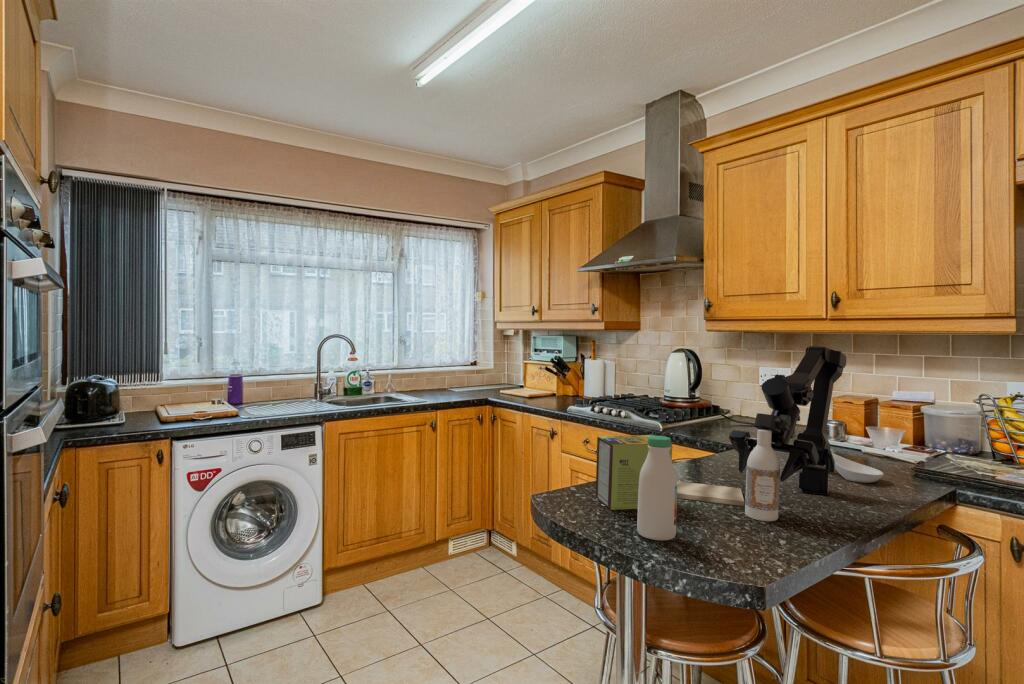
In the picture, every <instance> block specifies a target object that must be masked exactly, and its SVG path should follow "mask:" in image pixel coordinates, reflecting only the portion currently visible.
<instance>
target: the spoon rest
mask: <svg viewBox="0 0 1024 684" xmlns="http://www.w3.org/2000/svg"><path fill="white" fill-rule="evenodd" d="M832 455H833V458H834V461H835V471H836V472H837V473H839V475H841V476H842V477H843V478H844V480H847V481H850V482H854V483H857V484H858V483H859V484H869V483H875V482H877V481H879V480H880V479H882V478H883V477H884V475H885V474H884V472H883V471H882V470H879V469H878V468H874V467H871V466H868V465H865V464H862V463H858V462H856V461H853V460H851V459H848V458H845V457H843V456H840V455H838V454H836V453H833V452H832Z"/></svg>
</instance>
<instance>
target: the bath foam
mask: <svg viewBox="0 0 1024 684" xmlns="http://www.w3.org/2000/svg"><path fill="white" fill-rule="evenodd" d="M756 432H757V435H756V438H757V446H756V447H754V448H753V451H752V452H750V455H749V457H748V460H747V465H746V468H745V470H746V471H745V472H746V474H745V476H746V477H745V498H744V501H745V502H744V514H745V515H746V516H747V517H749V519H753V520H756V521H760V522H776V521H777V520H778V519H779V507H780V506H779V505H780V482H781V480H780V477H781V467H780V466H781V465H780V460H779V457H778V455H777V453H776V451H774V450H773V449H772V447H771V436H772V431H771V430H768V429H757V431H756Z"/></svg>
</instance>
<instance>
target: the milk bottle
mask: <svg viewBox="0 0 1024 684" xmlns="http://www.w3.org/2000/svg"><path fill="white" fill-rule="evenodd" d="M671 443H672V439H671V437H669V436H664V435H653V436H649V437H648V448H649V452H648V455H647V458H646V460H645V462H644V464H643V466H642V468H641V471H640V476H639V489H638V509H637V513H636V514H637V517H636V518H637V522H636V531H637V533H638V534H639V535H640V536H641V537H643V538H646V539H648V540H653V541H662V542H663V541H671V540H674V539H675V537H676V533H677V514H678V498H677V481H678V476H677V471H676V469H675V466H674V464H673V460H672V461H671V458H670V449H671Z"/></svg>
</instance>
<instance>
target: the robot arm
mask: <svg viewBox="0 0 1024 684" xmlns="http://www.w3.org/2000/svg"><path fill="white" fill-rule="evenodd" d="M846 366H847V356H846V354H844V353H843V352H842V351H841V350H836V349H835V350H834V349H831V348H829V347H827V346H820V345H817V346H816V345H811V346H810V345H809V346H807V347H806V348H805V352H804V355H803V357H802V358H801V359H800V362H799V363H798V365H797V367H796V368H795V369H794V371H793V373H792V374H790V375H787V376H785V375H784V374H775V375H774V377H771V378H769V379H767V380H765V381H764V382H762V384H761V391H762V394H763V395H764V398H765V401H766V403H767V405H768V408H770V409H771V410H772V411H771V413H770V414H767V413H759V412H757V413H756V417H755V419H754V424H753V427H754V428H756V429H757V430H758V429H768V430H771V431H772V436H771V447H772V449H773V450H774V452H778V453H783V454H788V458H787V459H786V460H787V461H786V462H785V465H784V467H783V469H782V472H780V482H785V481H786V480H787V479H789V478H790V477H792V476H793V475H794V474H795V473H797V476H796V477H797V480H796V483H797V487H798V489H799V490H800V491H801V493H807V494H814V495H815V494H816V495H825V496H829V495H830V492H829V489H828V487H829V473H834V472H835V471H836V469H835V461H834V458H833V455H832V453H833V452H832V450H831V443H830V442H829V439H828V437H827V435H826V433H827V428H828V419H829V414H830V409H831V402H832V395H833V390H834V385H835V384H834V383H836V382H837V381H838V380H839V379H840V377H842V375H843V371H844V369H845V368H846ZM812 384H813V385H812ZM812 386H813V388H812ZM809 404H810V405H809ZM807 405H809V410H808V416H807V421H806V428H805V430H804V431H802V432H799V433H798V434H797V435H796V439H794V436H795V434H794V429H795V427H796V424H797V422H800V421H801V416H800V414H801V409H800V407H799V406H803V407H806V406H807ZM728 439H729V441H730V443H731V446H732V448H733V449H734V451H736V452H737V453H738V471H739V474H742V473H743V472H744V470H746V468H747V460H748V457H749V455H750V453H751V452H752V451H753V449H754V448H755V447H756V446H757V437H751V433H750V432H749V431H746V430H741V429H740V430H739V429H732V431H730V433H729V435H728ZM791 439H794V440H793V443H792V444H789V443H790V440H791Z"/></svg>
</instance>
